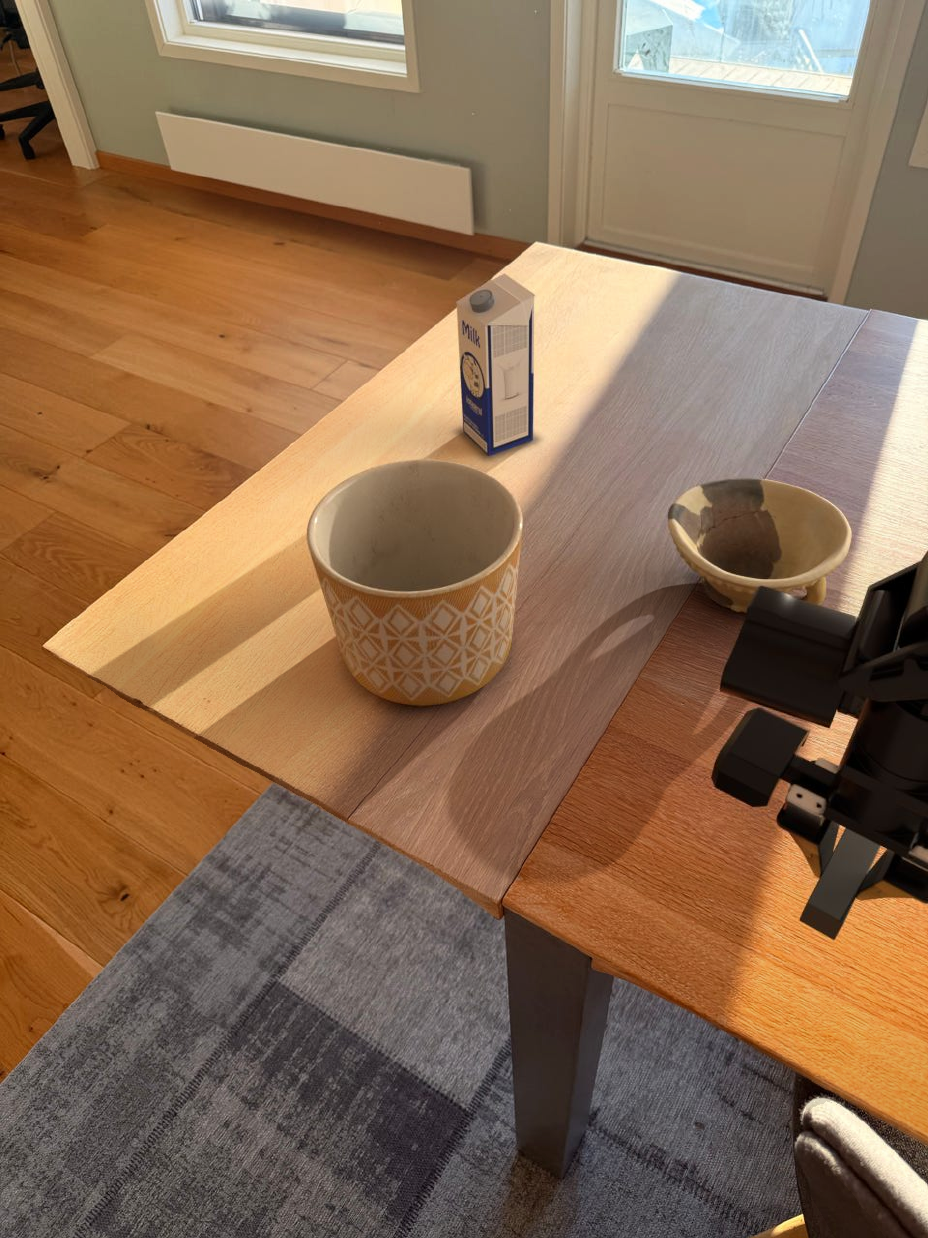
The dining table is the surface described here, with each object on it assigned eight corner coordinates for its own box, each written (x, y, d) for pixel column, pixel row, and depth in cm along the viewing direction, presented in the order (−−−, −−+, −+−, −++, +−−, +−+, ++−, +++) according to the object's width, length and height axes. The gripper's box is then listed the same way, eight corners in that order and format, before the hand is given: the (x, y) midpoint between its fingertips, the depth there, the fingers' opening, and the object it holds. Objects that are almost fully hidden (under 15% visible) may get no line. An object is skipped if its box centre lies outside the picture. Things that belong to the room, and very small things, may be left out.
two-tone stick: (834, 941, 59) (843, 923, 57) (798, 920, 60) (806, 903, 58) (919, 765, 68) (929, 745, 66) (886, 750, 69) (896, 730, 67)
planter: (309, 710, 87) (277, 585, 76) (359, 576, 101) (339, 452, 89) (508, 732, 84) (506, 605, 73) (532, 591, 98) (534, 465, 86)
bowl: (863, 591, 96) (889, 520, 89) (761, 680, 88) (781, 609, 81) (725, 517, 105) (739, 447, 98) (622, 591, 97) (630, 521, 90)
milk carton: (534, 440, 118) (535, 293, 104) (489, 456, 116) (484, 308, 102) (505, 415, 123) (503, 271, 108) (462, 430, 120) (454, 285, 106)
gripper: (1134, 721, 50) (1022, 868, 61) (804, 590, 58) (759, 739, 69) (1088, 870, 44) (973, 1003, 55) (727, 699, 52) (691, 844, 63)
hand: (840, 883), depth 60 cm, fingers closed on two-tone stick, 2 cm apart
